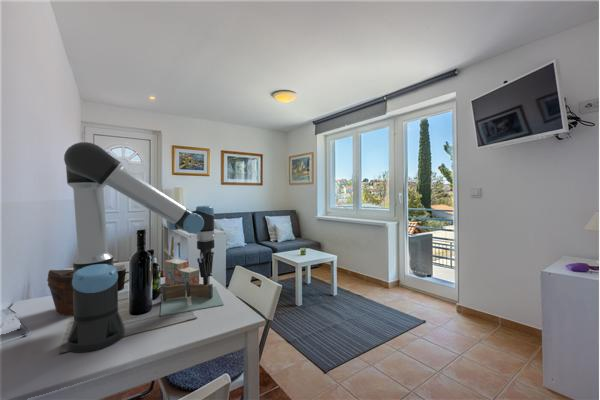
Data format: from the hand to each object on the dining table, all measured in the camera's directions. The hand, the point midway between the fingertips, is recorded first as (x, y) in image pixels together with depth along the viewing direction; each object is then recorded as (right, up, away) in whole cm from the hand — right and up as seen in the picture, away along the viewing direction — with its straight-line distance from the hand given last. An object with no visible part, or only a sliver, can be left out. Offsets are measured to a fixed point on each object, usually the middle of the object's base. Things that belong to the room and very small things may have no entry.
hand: (206, 290), depth 126 cm
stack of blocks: (-18, -3, +16) cm, 25 cm away
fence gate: (-2, -2, -2) cm, 3 cm away
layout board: (-6, -3, -3) cm, 7 cm away
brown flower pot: (-49, -4, -12) cm, 51 cm away
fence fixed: (-13, -3, -2) cm, 13 cm away
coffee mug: (-47, -3, +10) cm, 48 cm away
